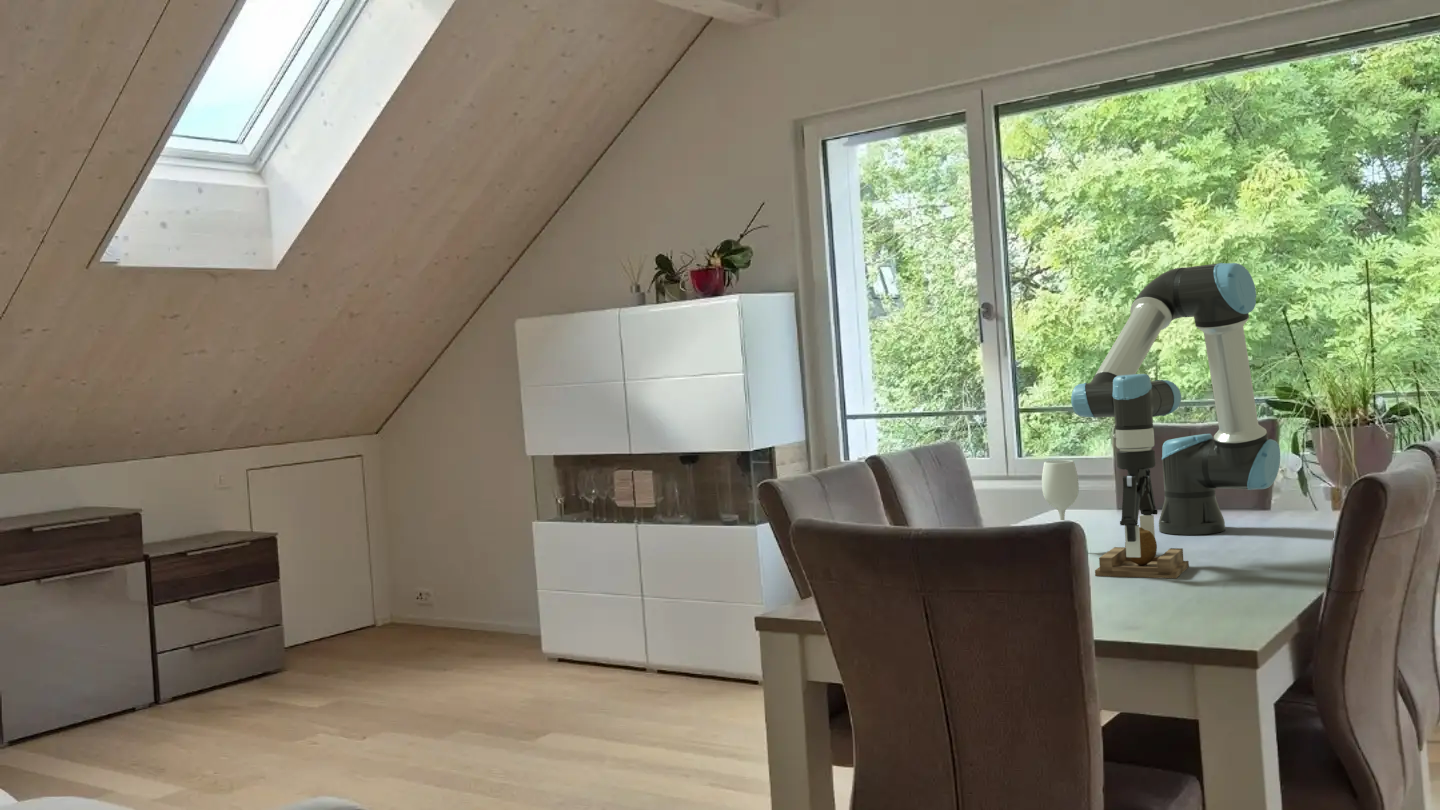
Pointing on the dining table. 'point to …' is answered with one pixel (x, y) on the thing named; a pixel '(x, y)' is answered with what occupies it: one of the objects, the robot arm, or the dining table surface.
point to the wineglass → (1060, 484)
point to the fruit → (1145, 548)
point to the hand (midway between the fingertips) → (1141, 551)
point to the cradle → (1159, 567)
